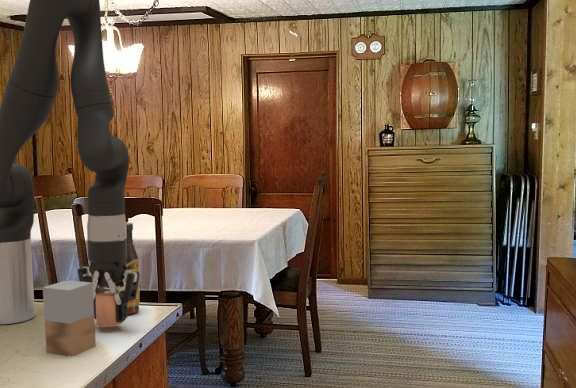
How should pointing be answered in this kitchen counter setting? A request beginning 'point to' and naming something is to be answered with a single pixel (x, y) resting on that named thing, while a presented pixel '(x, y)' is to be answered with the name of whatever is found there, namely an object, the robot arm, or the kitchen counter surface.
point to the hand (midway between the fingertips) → (109, 319)
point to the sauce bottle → (132, 268)
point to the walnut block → (70, 337)
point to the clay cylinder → (106, 309)
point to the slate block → (68, 301)
